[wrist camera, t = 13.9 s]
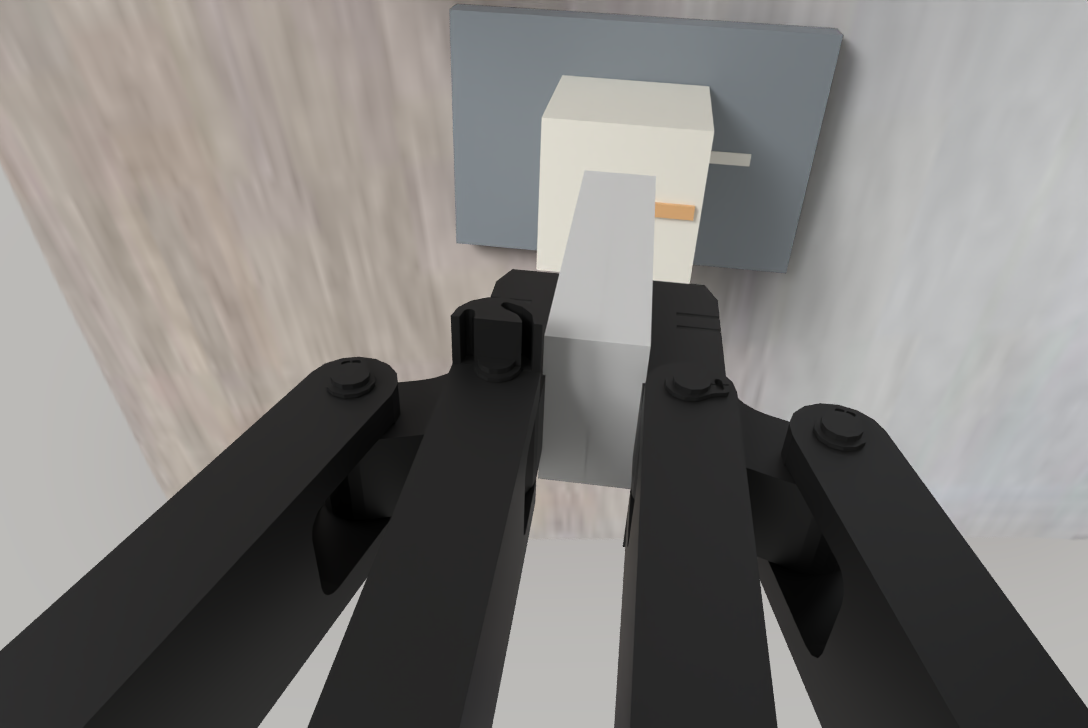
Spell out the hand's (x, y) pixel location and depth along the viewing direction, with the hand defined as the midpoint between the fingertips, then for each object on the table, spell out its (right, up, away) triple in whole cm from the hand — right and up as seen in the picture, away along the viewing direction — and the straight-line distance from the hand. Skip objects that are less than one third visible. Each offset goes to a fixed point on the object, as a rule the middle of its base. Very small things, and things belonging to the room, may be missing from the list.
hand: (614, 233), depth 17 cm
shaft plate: (+3, +9, +23) cm, 25 cm away
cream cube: (+3, +8, +22) cm, 24 cm away
